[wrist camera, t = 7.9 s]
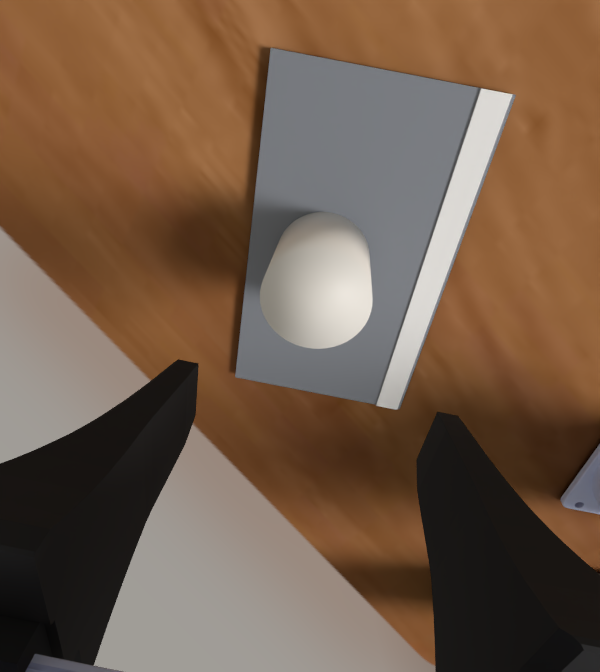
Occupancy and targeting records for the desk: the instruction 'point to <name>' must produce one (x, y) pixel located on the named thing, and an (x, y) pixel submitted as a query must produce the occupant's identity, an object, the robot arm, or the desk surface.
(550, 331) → the desk surface
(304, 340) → the white tapered cylinder
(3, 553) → the robot arm
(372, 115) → the gray book
